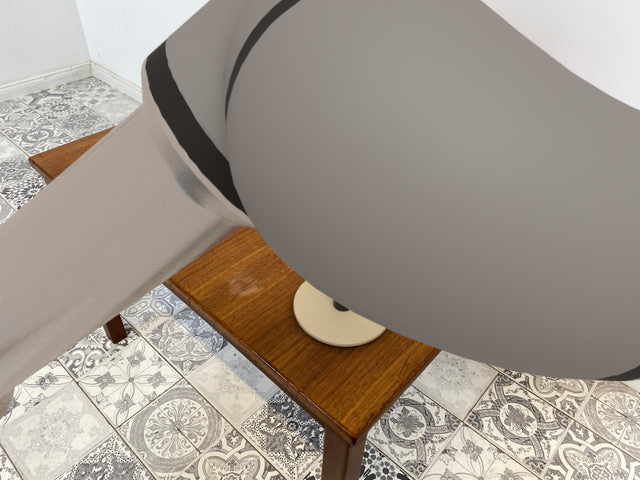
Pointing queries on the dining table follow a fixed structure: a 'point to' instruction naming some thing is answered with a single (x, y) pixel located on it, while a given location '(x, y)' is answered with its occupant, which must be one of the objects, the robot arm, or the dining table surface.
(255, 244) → the dining table surface
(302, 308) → the lid
